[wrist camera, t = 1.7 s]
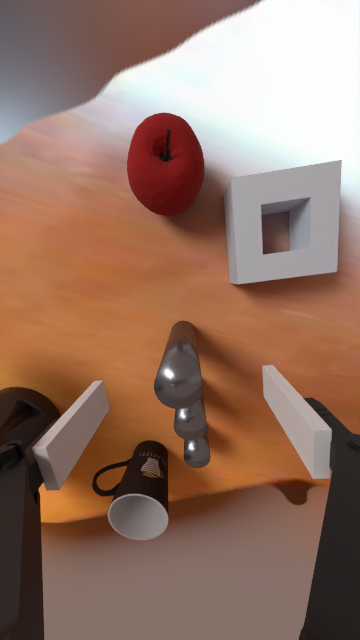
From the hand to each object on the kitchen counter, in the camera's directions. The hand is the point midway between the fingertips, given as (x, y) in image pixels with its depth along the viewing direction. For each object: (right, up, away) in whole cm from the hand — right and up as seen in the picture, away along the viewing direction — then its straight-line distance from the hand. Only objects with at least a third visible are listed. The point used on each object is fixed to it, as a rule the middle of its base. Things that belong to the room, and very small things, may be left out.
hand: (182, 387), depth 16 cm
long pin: (0, +3, +16) cm, 16 cm away
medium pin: (+2, -5, +18) cm, 18 cm away
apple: (-2, +24, +11) cm, 27 cm away
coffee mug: (-7, -19, +21) cm, 29 cm away
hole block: (+13, +18, +12) cm, 25 cm away
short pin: (+3, -14, +20) cm, 24 cm away
